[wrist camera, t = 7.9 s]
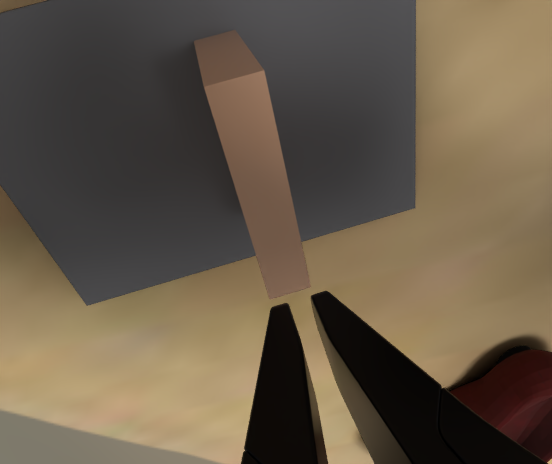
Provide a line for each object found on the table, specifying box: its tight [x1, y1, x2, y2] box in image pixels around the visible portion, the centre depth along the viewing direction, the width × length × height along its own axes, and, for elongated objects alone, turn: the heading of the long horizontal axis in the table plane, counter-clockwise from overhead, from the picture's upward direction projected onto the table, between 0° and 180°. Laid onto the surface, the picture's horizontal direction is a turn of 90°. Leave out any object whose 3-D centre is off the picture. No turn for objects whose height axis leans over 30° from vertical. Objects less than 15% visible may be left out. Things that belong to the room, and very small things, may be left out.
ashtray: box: [374, 346, 552, 464], centre depth 36 cm, size 18×16×5 cm
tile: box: [194, 30, 311, 299], centre depth 15 cm, size 2×8×6 cm, turn 11°
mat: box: [0, 0, 416, 306], centre depth 18 cm, size 18×13×1 cm
